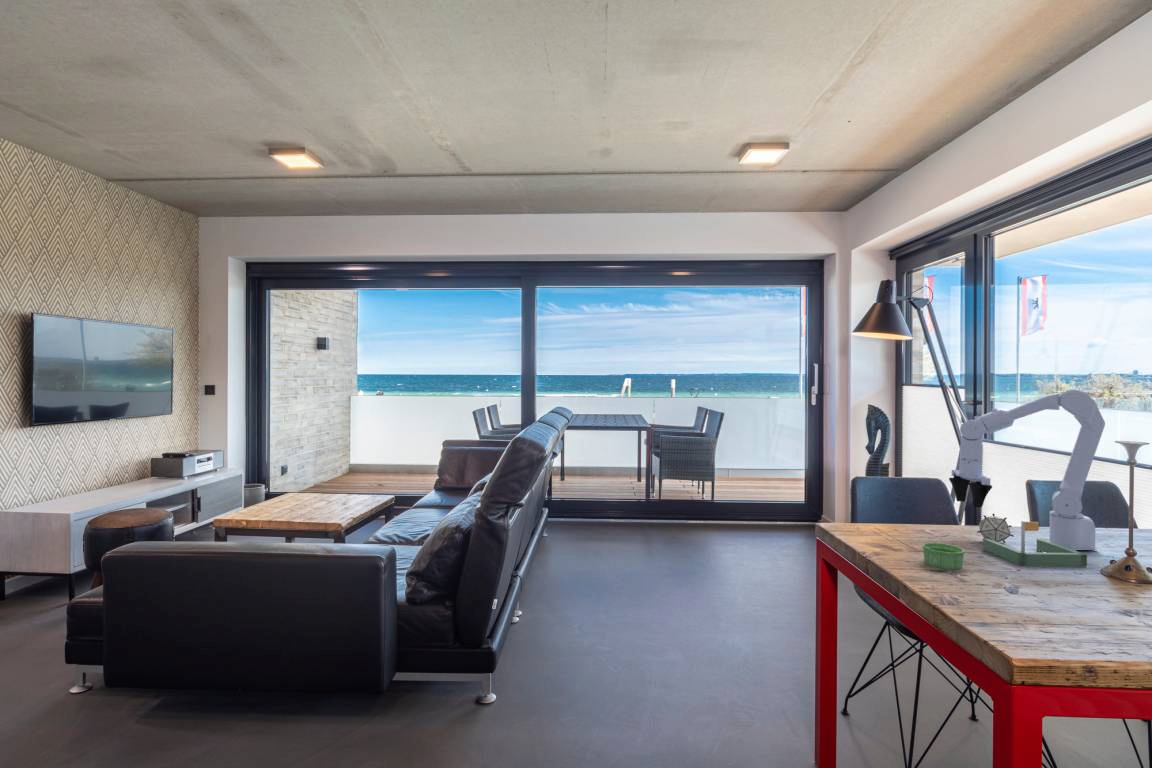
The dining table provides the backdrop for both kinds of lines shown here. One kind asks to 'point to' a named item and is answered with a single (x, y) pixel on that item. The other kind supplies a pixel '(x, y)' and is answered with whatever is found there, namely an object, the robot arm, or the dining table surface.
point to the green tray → (1052, 557)
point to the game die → (994, 528)
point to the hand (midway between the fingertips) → (969, 504)
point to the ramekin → (943, 555)
